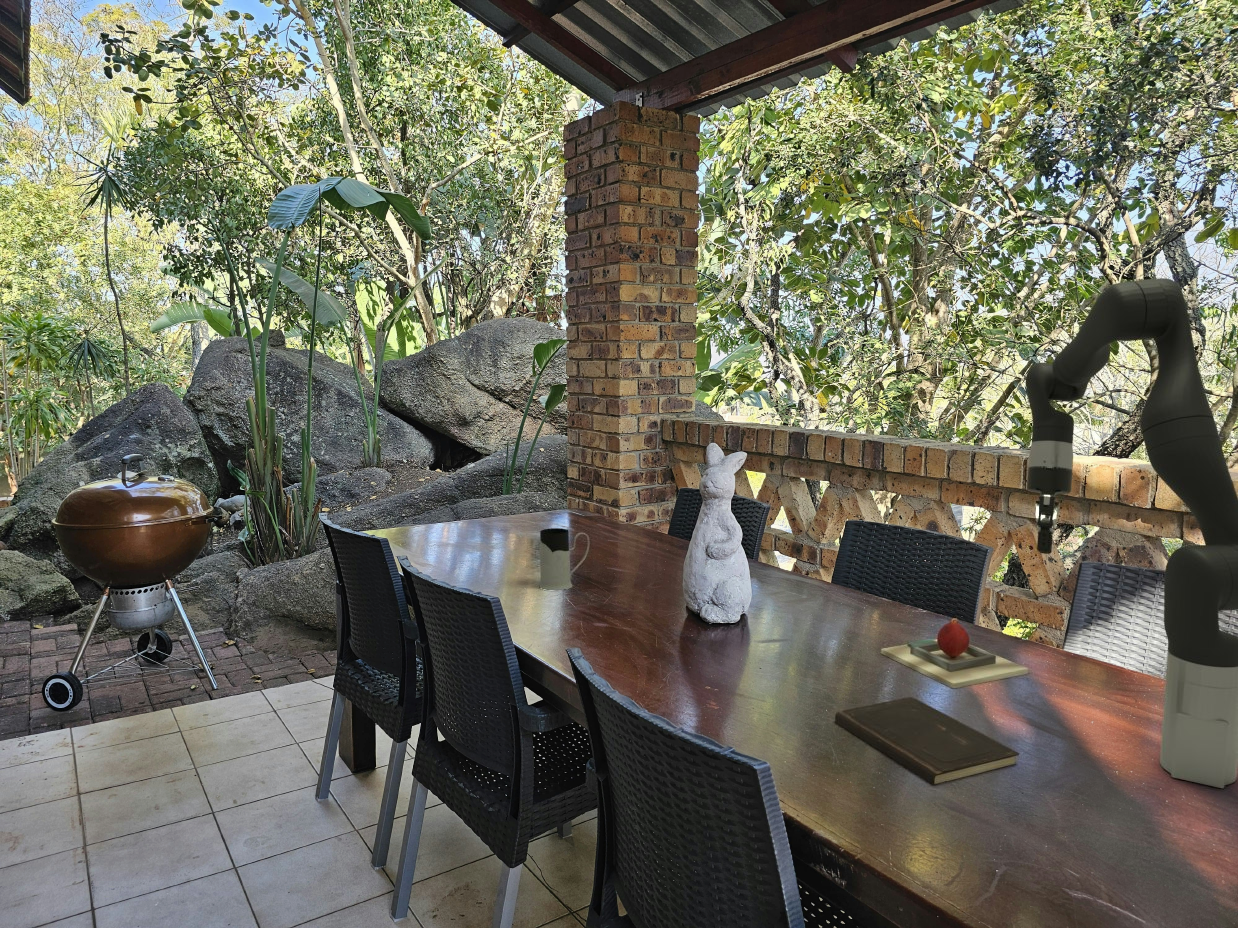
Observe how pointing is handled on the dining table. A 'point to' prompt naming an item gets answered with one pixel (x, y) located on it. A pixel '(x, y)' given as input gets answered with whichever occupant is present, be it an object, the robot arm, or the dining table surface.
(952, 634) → the onion
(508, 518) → the dining table surface
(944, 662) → the cradle board
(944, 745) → the hardcover book
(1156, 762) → the dining table surface
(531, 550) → the dining table surface
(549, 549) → the glass holder
